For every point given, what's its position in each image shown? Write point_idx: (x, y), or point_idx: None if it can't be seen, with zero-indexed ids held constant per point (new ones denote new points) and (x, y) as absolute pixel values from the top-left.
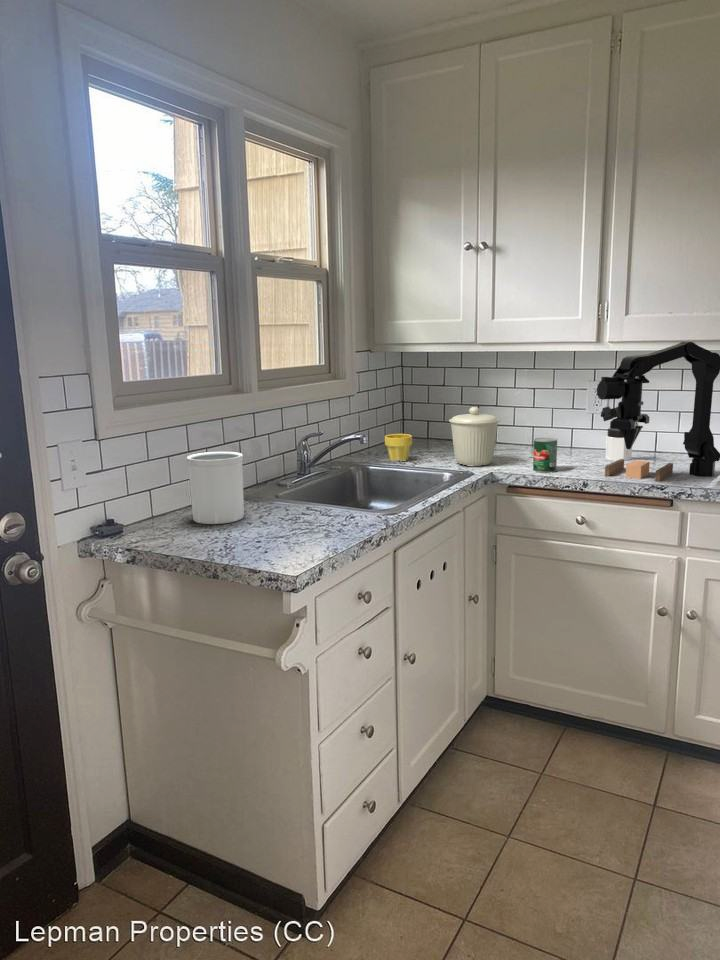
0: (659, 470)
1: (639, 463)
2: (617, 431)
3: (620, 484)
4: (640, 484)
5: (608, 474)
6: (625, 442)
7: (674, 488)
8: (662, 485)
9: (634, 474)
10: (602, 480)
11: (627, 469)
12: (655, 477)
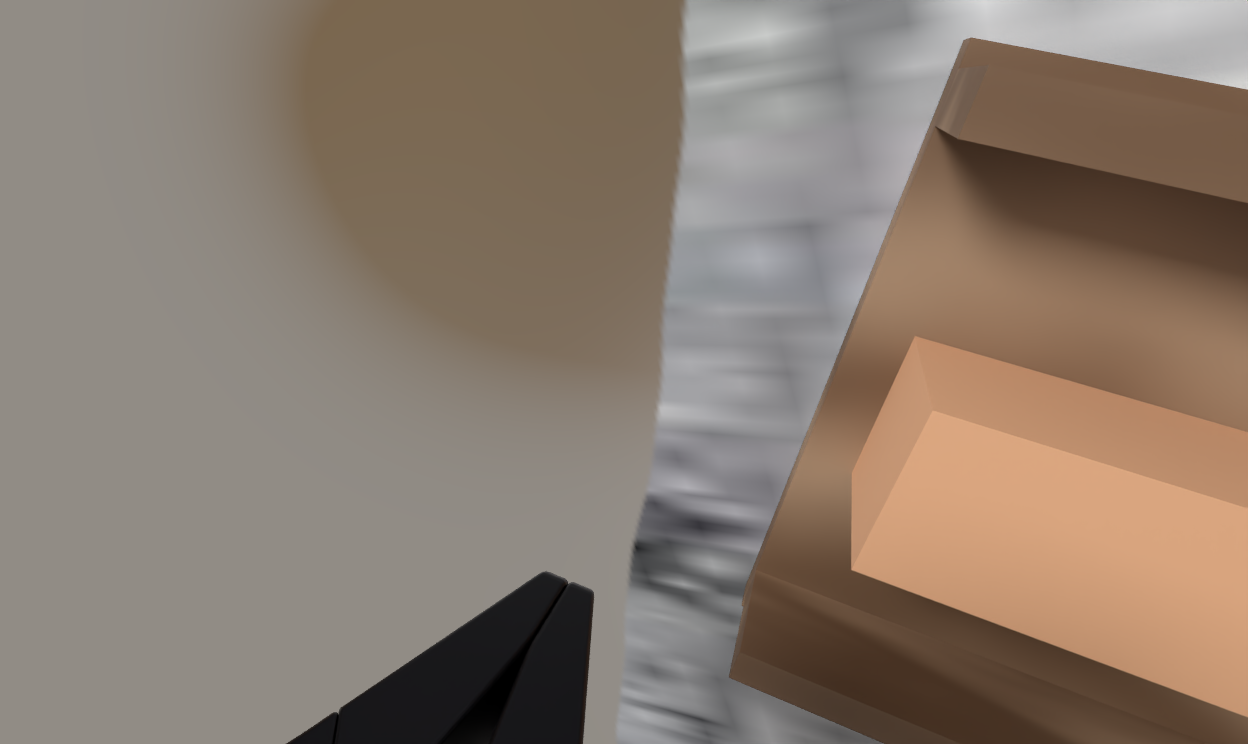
0: (761, 682)
1: (1094, 587)
2: None
3: (711, 275)
4: (759, 448)
5: (940, 125)
6: (430, 655)
7: (671, 641)
8: None
9: (878, 445)
10: (910, 42)
11: (915, 398)
12: (748, 599)
